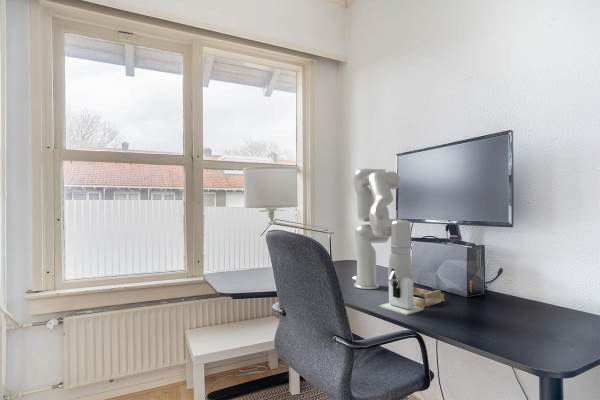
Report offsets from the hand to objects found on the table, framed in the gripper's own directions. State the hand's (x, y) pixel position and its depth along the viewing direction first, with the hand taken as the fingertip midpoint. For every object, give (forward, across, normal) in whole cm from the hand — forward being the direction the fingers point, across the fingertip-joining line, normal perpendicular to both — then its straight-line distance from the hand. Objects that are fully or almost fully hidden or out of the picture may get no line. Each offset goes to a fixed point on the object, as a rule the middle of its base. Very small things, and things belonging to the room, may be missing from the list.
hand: (400, 295), depth 135 cm
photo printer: (+4, 0, 0) cm, 4 cm away
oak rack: (+5, -16, -3) cm, 17 cm away
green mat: (+5, 0, 0) cm, 5 cm away
